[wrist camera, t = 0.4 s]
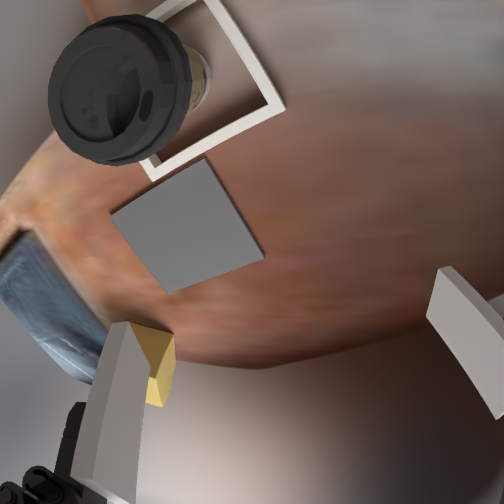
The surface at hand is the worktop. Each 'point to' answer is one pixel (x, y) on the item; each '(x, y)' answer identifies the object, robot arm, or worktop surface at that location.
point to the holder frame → (275, 104)
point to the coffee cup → (125, 89)
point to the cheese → (157, 361)
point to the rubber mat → (187, 229)
